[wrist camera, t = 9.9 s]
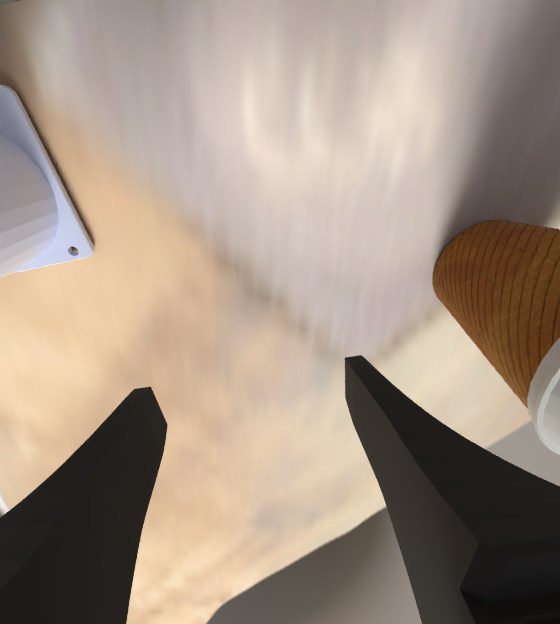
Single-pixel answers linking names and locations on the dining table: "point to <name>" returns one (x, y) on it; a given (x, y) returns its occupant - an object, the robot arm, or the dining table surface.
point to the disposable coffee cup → (510, 309)
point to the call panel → (6, 1)
